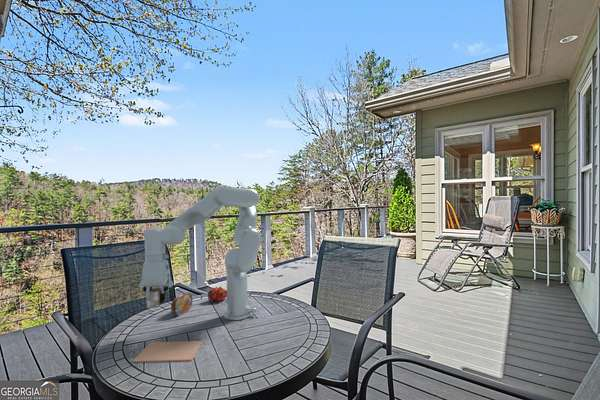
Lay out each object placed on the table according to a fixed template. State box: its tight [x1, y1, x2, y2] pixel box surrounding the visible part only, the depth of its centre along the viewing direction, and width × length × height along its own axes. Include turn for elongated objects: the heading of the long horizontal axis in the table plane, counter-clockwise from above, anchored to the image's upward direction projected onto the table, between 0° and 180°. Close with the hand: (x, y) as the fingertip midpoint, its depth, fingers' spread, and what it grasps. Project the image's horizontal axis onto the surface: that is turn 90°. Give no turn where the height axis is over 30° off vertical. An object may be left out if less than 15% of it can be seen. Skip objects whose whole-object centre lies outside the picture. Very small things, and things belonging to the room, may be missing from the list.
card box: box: [146, 286, 167, 309], centre depth 131 cm, size 4×9×6 cm, turn 2°
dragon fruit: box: [207, 286, 227, 303], centre depth 172 cm, size 8×8×12 cm
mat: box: [132, 340, 204, 363], centre depth 116 cm, size 20×14×1 cm
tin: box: [170, 292, 193, 317], centre depth 156 cm, size 15×3×8 cm, turn 168°
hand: (156, 302), depth 131 cm, fingers closed on card box, 4 cm apart
